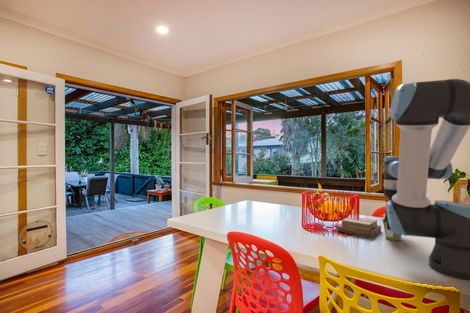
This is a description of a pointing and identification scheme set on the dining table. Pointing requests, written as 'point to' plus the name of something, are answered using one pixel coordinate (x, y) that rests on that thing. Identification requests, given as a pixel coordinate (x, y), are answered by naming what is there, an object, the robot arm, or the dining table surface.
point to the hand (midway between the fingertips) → (393, 233)
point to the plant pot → (395, 236)
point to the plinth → (360, 232)
